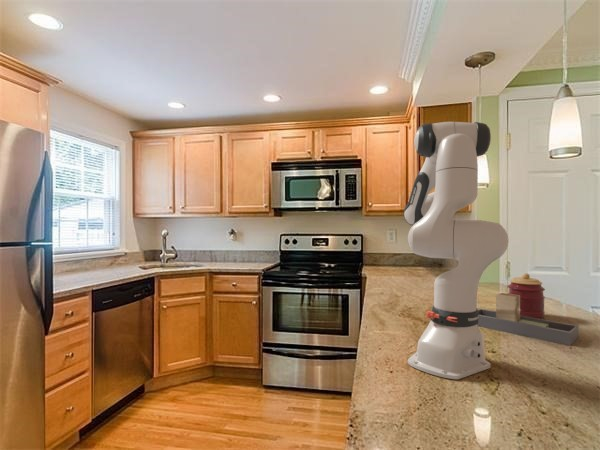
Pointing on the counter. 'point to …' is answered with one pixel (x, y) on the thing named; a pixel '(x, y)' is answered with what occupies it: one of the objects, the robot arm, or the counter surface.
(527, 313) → the canister
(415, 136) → the robot arm
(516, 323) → the box
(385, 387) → the counter surface
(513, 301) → the block
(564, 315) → the counter surface
